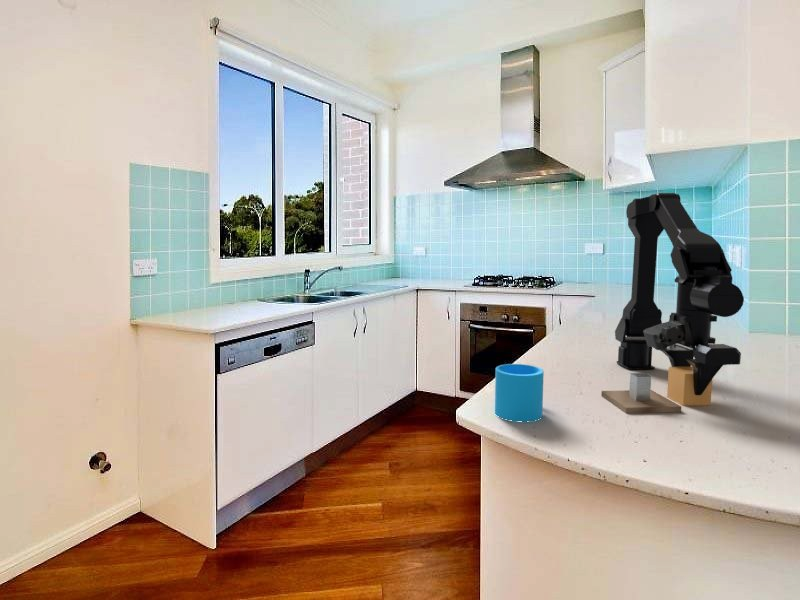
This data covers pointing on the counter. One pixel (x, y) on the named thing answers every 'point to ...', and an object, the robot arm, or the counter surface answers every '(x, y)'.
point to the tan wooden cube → (686, 387)
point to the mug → (519, 392)
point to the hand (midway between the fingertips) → (688, 390)
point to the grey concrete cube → (640, 386)
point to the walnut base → (640, 402)
